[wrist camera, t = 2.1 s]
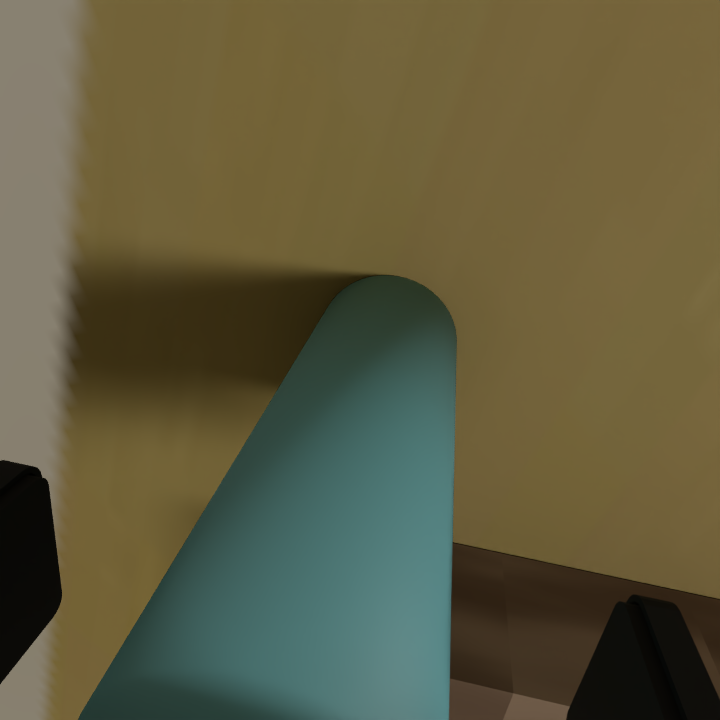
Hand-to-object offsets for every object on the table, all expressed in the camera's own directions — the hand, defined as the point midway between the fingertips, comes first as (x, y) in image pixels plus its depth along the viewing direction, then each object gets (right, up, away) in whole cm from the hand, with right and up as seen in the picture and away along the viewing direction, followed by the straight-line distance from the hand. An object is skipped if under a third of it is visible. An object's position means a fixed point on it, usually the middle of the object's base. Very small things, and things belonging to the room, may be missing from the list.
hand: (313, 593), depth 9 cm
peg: (+2, +4, +7) cm, 9 cm away
